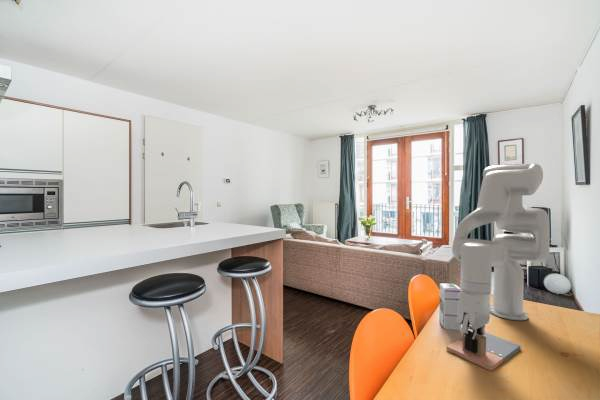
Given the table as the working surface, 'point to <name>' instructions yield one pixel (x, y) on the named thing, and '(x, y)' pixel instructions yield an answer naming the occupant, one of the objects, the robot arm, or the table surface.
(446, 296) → the syrup box
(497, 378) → the table surface
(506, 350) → the grey dotted square slab
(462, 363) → the table surface
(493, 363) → the pink slab with block
